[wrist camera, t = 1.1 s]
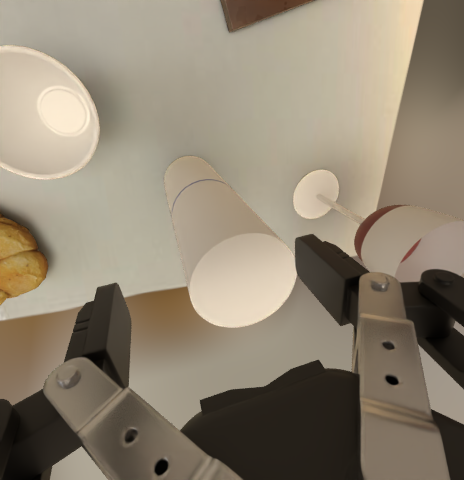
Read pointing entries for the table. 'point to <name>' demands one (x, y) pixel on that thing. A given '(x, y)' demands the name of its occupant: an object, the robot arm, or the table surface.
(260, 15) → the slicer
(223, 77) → the table surface
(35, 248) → the bread roll
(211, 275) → the cylindrical container
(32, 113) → the cup
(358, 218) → the wineglass
